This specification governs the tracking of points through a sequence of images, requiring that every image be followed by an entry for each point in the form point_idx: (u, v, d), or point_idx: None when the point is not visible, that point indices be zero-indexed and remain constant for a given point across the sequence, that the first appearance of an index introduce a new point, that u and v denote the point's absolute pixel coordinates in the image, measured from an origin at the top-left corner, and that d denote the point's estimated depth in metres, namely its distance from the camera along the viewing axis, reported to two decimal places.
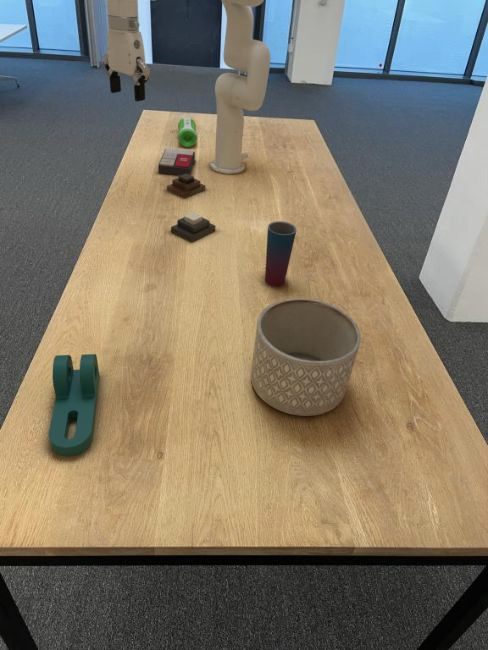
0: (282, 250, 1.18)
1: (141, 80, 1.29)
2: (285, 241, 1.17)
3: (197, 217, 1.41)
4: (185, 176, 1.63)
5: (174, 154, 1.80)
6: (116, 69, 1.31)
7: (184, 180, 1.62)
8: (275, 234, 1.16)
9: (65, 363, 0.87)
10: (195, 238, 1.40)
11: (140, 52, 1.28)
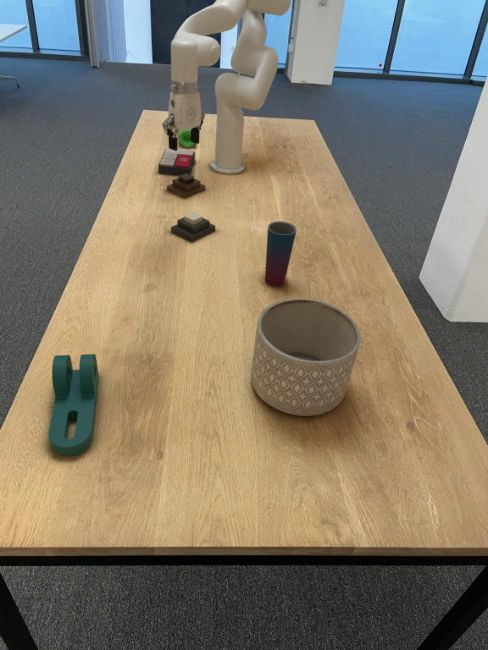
0: (282, 250, 1.18)
1: None
2: (285, 241, 1.17)
3: (197, 217, 1.41)
4: (185, 176, 1.63)
5: (174, 154, 1.80)
6: None
7: (184, 180, 1.62)
8: (275, 234, 1.16)
9: (64, 363, 0.87)
10: (195, 238, 1.40)
11: (174, 111, 1.46)
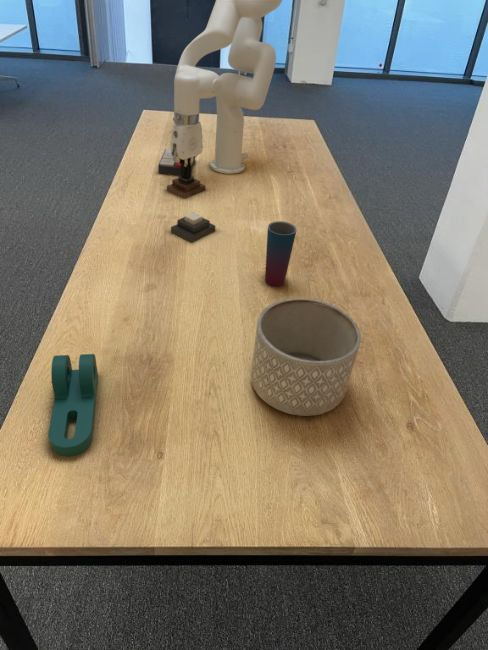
0: (282, 250, 1.18)
1: None
2: (285, 241, 1.17)
3: (197, 217, 1.41)
4: None
5: None
6: None
7: (184, 180, 1.62)
8: (275, 234, 1.16)
9: (64, 363, 0.87)
10: (195, 238, 1.40)
11: (176, 141, 1.52)
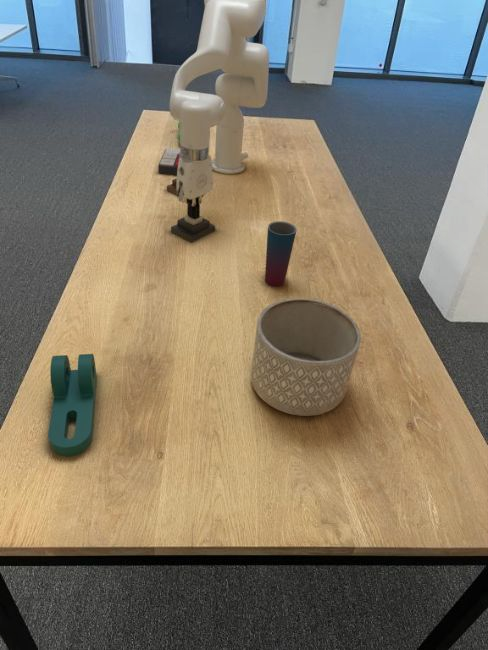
0: (282, 250, 1.18)
1: None
2: (285, 241, 1.17)
3: (197, 218, 1.41)
4: None
5: (174, 154, 1.80)
6: None
7: None
8: (275, 234, 1.16)
9: (63, 363, 0.87)
10: (195, 238, 1.40)
11: (183, 179, 1.30)
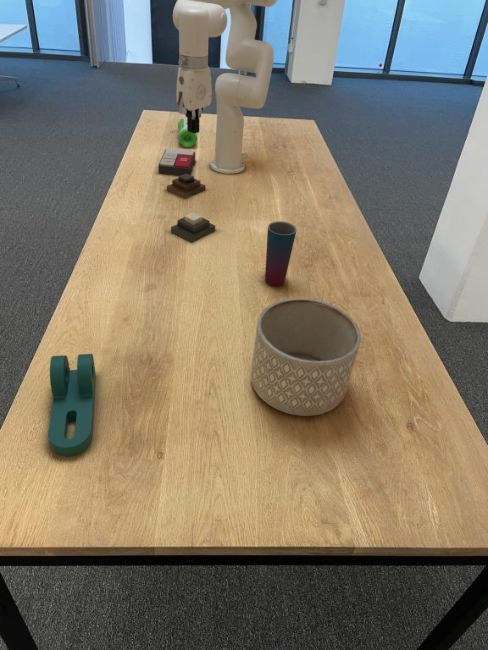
0: (282, 250, 1.18)
1: None
2: (285, 241, 1.17)
3: (197, 217, 1.41)
4: (185, 176, 1.63)
5: (174, 154, 1.80)
6: None
7: (184, 180, 1.62)
8: (275, 234, 1.16)
9: (62, 363, 0.87)
10: (195, 238, 1.40)
11: (183, 88, 1.33)
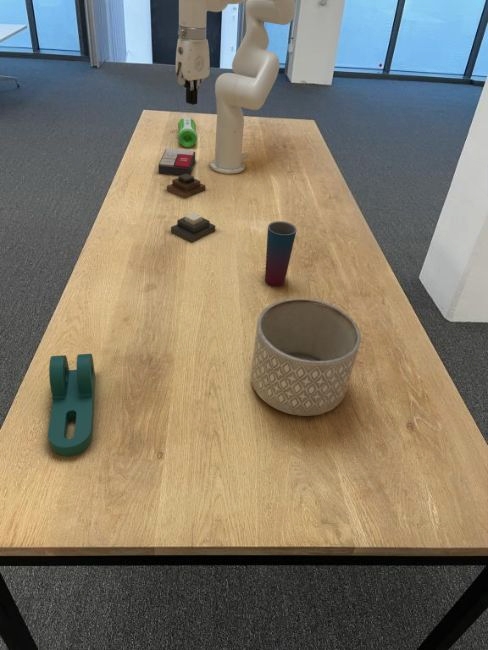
0: (282, 250, 1.18)
1: None
2: (285, 241, 1.17)
3: (197, 217, 1.41)
4: (185, 176, 1.63)
5: (174, 154, 1.80)
6: None
7: (184, 180, 1.62)
8: (275, 234, 1.16)
9: (61, 363, 0.87)
10: (195, 238, 1.40)
11: (181, 59, 1.39)
